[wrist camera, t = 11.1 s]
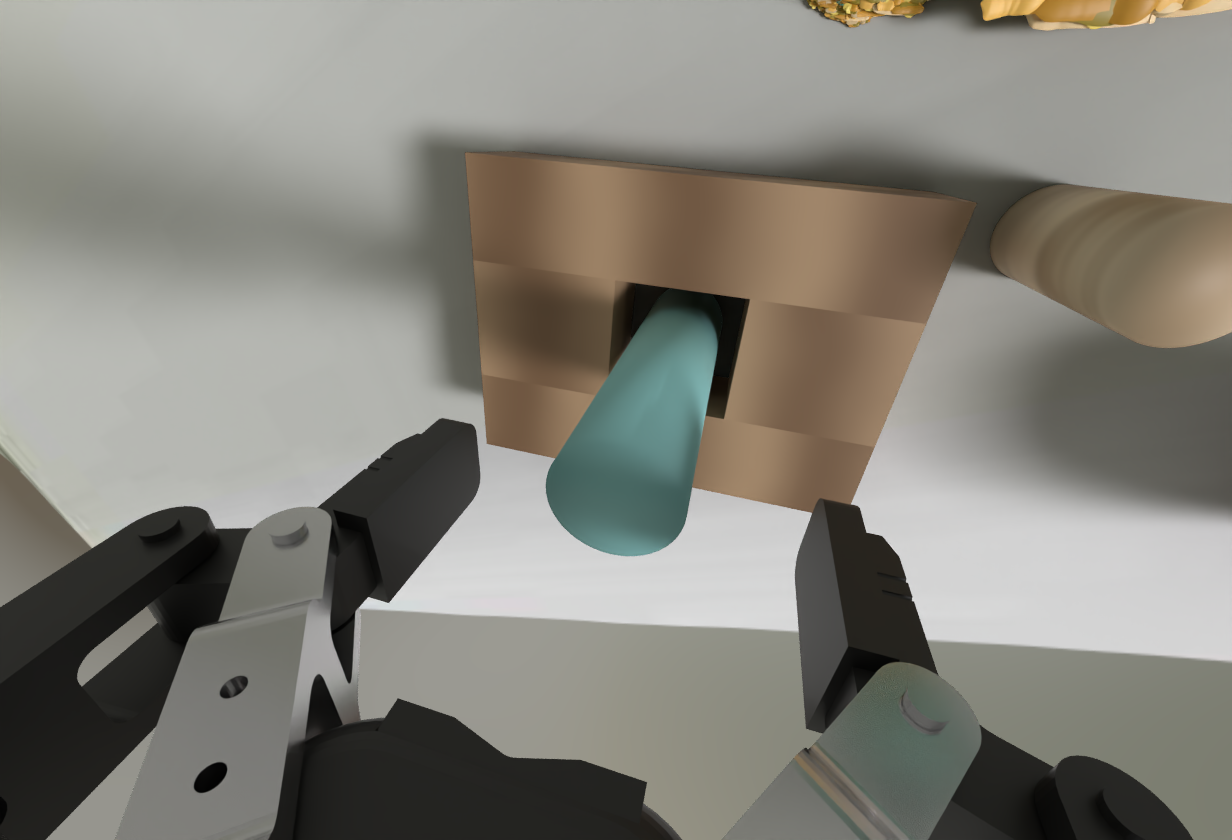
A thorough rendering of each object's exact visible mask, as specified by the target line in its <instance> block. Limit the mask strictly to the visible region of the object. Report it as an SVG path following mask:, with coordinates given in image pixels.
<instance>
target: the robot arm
mask: <svg viewBox="0 0 1232 840" xmlns="http://www.w3.org/2000/svg"><path fill="white" fill-rule="evenodd" d="M479 484H480V466H479V456H478V445H477V435H476V430H475V427H474V426H473V425H472V424H468V423H464V422H459V421H454V420H449V419H444V418H442V419H439V420H438V421H436V422H435V423H434V424H433V425H432V426H430V427H429V428H428V429H427V430H426V431H425V432H423V433H422V434H416V435H413V436H411V437H409V438H407V439H404V440H402V441H400V442H398V443H396V444H395V445H393V446H392V447H391V448H390V449H389V450H387V451H386V452H385V453H384V454H382V455H381V458H380V459H379V458H377V459H376V460H375V461H374V462H373V463H371V464H370V465H369V466H368V469H364V470H363V471H362V472H360V473H359V474H358V475H357V476H355V477H354V478H353V479H352V480H351V481H349V482H348V483H347V484H346V485H344V486H343V487H342V488H341V489H339V490H338V491H337V492H336V493H335V494H333V495H332V496H331V497H330V498H328V499H327V500H326V501H325V502H324V503H322V504H321V505H320V506H319V507H317V508H315V507H298V508H292V509H287V510H284V511H281V512H278V513H276V514H273V515H271V516H269V517H268V518H266V519H264V520H263V521H261V522H260V523H258V524H257V525H256V526H255V527H254V528H240V529H215V527H214V525H213V523H212V521H211V518H210V516H209V514H208V513H207V512H206V511H205V510H203V509H201V508H198V507H192V506H184V507H175V508H169V509H165V510H161V511H158V512H155V513H152V514H150V515H147V516H145V517H143V518H141V519H139V520H137V521H135V522H133V523H131V524H130V525H128V526H127V527H125V528H123V529H122V530H120V531H119V532H117V533H116V534H114V535H113V536H111V537H109V538H108V539H106V540H105V541H103V542H102V543H100V544H99V545H97V546H95V547H94V548H92V549H91V550H89V551H88V552H86V553H84V554H83V555H82V556H80V557H78V558H77V559H76V560H74V561H72V562H70V563H69V564H67V565H66V566H64V567H63V568H61V569H60V570H58V571H56V572H55V573H53V574H52V575H50V576H49V577H47V578H46V579H44V580H42V581H41V582H39V583H38V584H36V585H34V586H33V587H31V588H30V589H28V590H27V591H25V592H24V593H22V594H20V595H19V596H18V597H16V598H14V599H13V600H11V601H10V602H8V603H6V604H5V605H3V606H2V607H0V840H46V839H47V838H48V836H49V835H50V834H51V833H52V832H53V831H54V830H55V829H56V828H57V827H58V826H59V825H60V824H61V823H62V822H63V821H64V820H65V819H66V818H67V817H68V816H69V815H70V814H71V813H72V812H73V811H74V810H75V809H76V808H77V807H78V806H79V805H80V804H81V803H82V802H83V801H84V800H85V799H86V798H87V797H88V795H90V794H91V792H92V791H93V790H94V789H95V788H96V787H97V786H98V785H99V784H100V783H101V782H102V781H103V780H104V779H105V778H106V777H107V776H108V775H109V774H110V773H111V772H112V771H113V770H114V769H115V768H116V767H117V766H118V765H119V764H120V763H121V762H122V761H123V760H124V759H125V758H126V757H127V756H128V755H129V754H130V753H131V752H132V751H133V750H134V748H135V747H136V746H137V745H138V744H139V743H140V742H141V741H142V740H143V739H144V738H145V737H146V736H147V735H148V734H149V733H150V732H151V731H152V730H153V729H154V728H155V727H156V729H155V732H154V734H153V737H152V740H151V742H150V745H149V748H148V750H147V753H146V756H145V759H144V761H143V764H142V767H141V769H140V772H139V775H138V778H137V780H136V783H135V786H134V788H133V791H132V794H131V797H130V800H129V802H128V805H127V807H126V810H125V813H124V816H123V819H122V821H121V824H120V827H119V829H118V832H117V835H116V837H115V840H682V839H681V838H680V837H679V835H678V834H677V833H676V832H675V831H674V830H673V828H672V827H671V826H669V824H668V823H667V822H665V821H664V820H663V819H662V818H661V817H660V816H659V815H658V814H657V813H656V812H654V811H653V810H651V809H650V808H648V807H647V806H646V805H645V804H643V801H644V796H645V789H646V784H647V782H644V781H642V780H639V779H636V778H633V777H629V776H627V775H624V774H621V773H618V772H615V771H612V770H609V769H606V768H603V767H600V766H597V765H594V764H591V763H588V762H585V761H582V760H564V759H562V760H561V759H531V758H512V757H508V756H506V755H504V754H502V753H501V752H500V751H498V750H497V749H496V748H494V747H493V746H492V745H490V744H489V743H488V742H486V741H485V740H484V739H482V738H481V737H480V736H478V735H477V734H476V733H474V732H473V731H472V730H470V729H469V728H468V727H466V726H465V725H464V724H462V723H461V722H460V721H458V720H457V719H456V718H454V717H452V716H449V715H446V714H443V713H440V712H437V711H434V710H431V709H428V708H425V707H422V706H419V705H416V704H413V703H410V702H407V701H404V700H401V699H397V701H396V702H395V704H394V705H393V707H392V708H391V710H390V711H389V713H388V714H387V716H386V717H385V718H376V719H367V720H361V719H360V712H359V706H358V675H359V674H358V673H359V651H360V626H361V613H360V609H359V607H360V606H361V604H362V603H363V602H364V601H365V600H366V599H367V598H368V597H370V598H374V599H377V600H381V601H384V602H387V603H389V602H390V601H391V600H392V598H393V597H394V596H395V595H396V593H397V592H398V591H399V590H400V589H401V587H402V586H403V585H404V584H405V582H406V581H407V580H408V579H409V578H410V576H411V575H412V574H413V573H414V571H415V570H416V569H417V568H418V567H419V565H420V564H421V563H422V562H423V560H424V559H425V558H426V557H427V555H428V554H429V553H430V552H431V551H432V549H433V548H434V547H435V546H436V544H437V543H438V542H439V541H440V540H441V538H442V537H443V536H444V535H445V533H446V532H447V531H448V530H449V529H450V527H451V526H452V525H453V524H454V522H455V521H456V520H457V519H458V518H459V516H460V515H461V514H462V513H463V511H464V510H465V509H466V508H467V506H468V505H469V504H470V503H471V502H472V500H473V499H474V497H475V495H476V493H477V491H478V488H479ZM795 586H796V599H797V613H798V626H799V640H800V653H801V667H802V680H803V693H804V708H805V720H806V729H809V730H813V731H816V732H819V733H823V734H822V735H821V736H820V738H819V739H818V740H817V741H816V742H815V743H814V744H813V745H812V747H810V748H809V749H807V748H804V749H803V750H802V751H800V752H799V753H798V754H797V755H796V756H795V758H793V759H792V761H791V762H790V763H789V764H788V765H787V766H786V767H785V768H784V769H783V771H782V772H781V773H780V774H779V775H778V776H777V777H776V778H775V780H774V781H773V782H772V783H771V784H770V785H769V786H768V788H767V789H766V790H765V791H764V792H763V793H762V794H761V796H760V797H759V798H758V799H757V800H756V801H755V802H754V803H753V804H752V806H751V807H750V808H749V809H748V810H747V811H746V812H745V813H744V815H743V816H742V817H741V818H740V819H739V820H738V821H737V823H736V824H735V825H734V826H733V827H732V828H731V829H730V830H729V832H728V833H727V834H726V835H725V836H724V837H723V838H722V840H1193V839H1192V837H1191V836H1190V834H1189V832H1188V831H1187V829H1186V828H1185V827H1184V826H1183V824H1182V823H1181V822H1180V821H1179V819H1178V818H1177V817H1176V816H1175V815H1174V814H1173V812H1172V811H1171V810H1170V809H1169V808H1168V807H1167V806H1166V805H1165V804H1164V803H1163V802H1162V801H1161V800H1160V799H1159V798H1158V797H1157V796H1155V794H1153V793H1152V792H1151V791H1150V790H1148V789H1147V788H1146V787H1145V786H1144V785H1142V784H1141V783H1140V782H1138V781H1137V780H1135V779H1134V778H1133V777H1131V776H1130V775H1128V774H1126V773H1125V772H1123V771H1121V770H1120V769H1118V768H1116V767H1114V766H1112V765H1110V764H1108V763H1105V762H1103V761H1100V760H1098V759H1094V758H1091V757H1087V756H1069V757H1067V758H1064V759H1063V760H1062V761H1060V763H1058V764H1057V765H1056V766H1055V767H1052V766H1050V765H1049V764H1047V763H1045V762H1043V761H1041V760H1039V759H1038V758H1036V757H1034V756H1032V755H1030V754H1028V753H1027V752H1025V751H1023V750H1021V749H1019V748H1017V747H1016V746H1014V745H1012V744H1010V743H1008V742H1006V741H1005V740H1003V739H1001V738H999V737H997V736H996V735H994V734H992V733H991V732H989V731H987V730H986V729H985V728H983V727H982V726H981V725H979V723H978V720H977V718H976V716H975V714H974V712H973V710H972V709H971V708H970V706H969V704H968V703H967V701H966V700H965V699H964V698H963V697H962V695H961V694H959V692H958V691H957V690H955V688H954V687H953V686H951V685H950V684H949V683H948V682H946V681H945V680H944V679H942V678H941V677H939V675H938V673H937V670H936V667H935V664H934V661H933V658H932V655H931V652H930V649H929V647H928V643H927V640H926V637H925V634H924V631H923V628H922V625H921V622H920V619H919V616H918V613H917V610H916V606H915V603H914V602H913V601H912V594H911V591H910V588H909V585H908V583H906V576H905V573H904V570H903V567H902V564H901V561H900V558H899V556H898V555H897V554H896V553H895V551H894V550H893V549H892V548H891V546H890V545H889V544H888V543H887V542H886V540H885V539H884V538H883V537H882V536H879V535H875V534H870V533H866V529H865V526H864V522H863V518H862V514H861V511H860V508H859V507H858V506H855V505H851V504H846V503H841V502H836V501H832V500H827V499H822V498H820V499H819V500H818V501H817V503H816V505H815V508H814V510H813V513H812V516H811V518H810V521H809V524H808V527H807V529H806V532H805V535H804V538H803V540H802V543H801V546H800V549H799V552H798V556H797V561H796V568H795ZM146 606H147V607H148V608H149V610H150V611H151V613H152V615H153V616H154V618H155V619H156V620H157V622H158V623H157V624H156V625H155V626H153V627H152V628H151V629H150V630H149V631H147V632H146V633H145V634H144V635H143V636H141V637H140V638H139V639H138V640H137V641H136V642H134V643H133V644H132V645H131V646H130V647H128V648H127V649H126V650H125V651H124V652H122V653H121V654H120V655H119V656H118V657H117V658H115V659H114V660H113V661H112V662H111V663H109V664H108V665H107V666H106V667H105V668H104V669H102V670H101V671H100V672H99V673H98V674H96V675H95V676H94V677H93V678H92V679H90V680H89V681H88V682H87V683H86V684H85V685H84V686H82V687H81V685H80V684H79V683H78V680H77V673H78V669H79V667H80V665H81V663H82V661H83V660H84V658H85V657H86V656H87V654H89V653H90V652H91V651H92V650H93V649H94V648H95V647H96V646H98V644H100V643H101V642H103V641H104V640H105V639H106V638H108V637H109V636H110V635H111V634H113V633H114V632H115V631H116V630H118V629H119V628H120V627H121V626H123V625H124V624H125V623H126V622H127V621H129V620H130V619H131V618H132V617H134V616H135V615H136V614H138V613H139V612H140V611H141V610H143V609H144V608H145V607H146Z"/></svg>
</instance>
